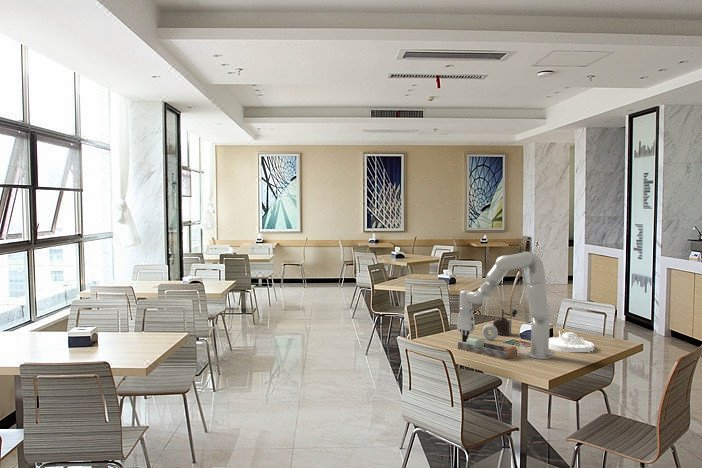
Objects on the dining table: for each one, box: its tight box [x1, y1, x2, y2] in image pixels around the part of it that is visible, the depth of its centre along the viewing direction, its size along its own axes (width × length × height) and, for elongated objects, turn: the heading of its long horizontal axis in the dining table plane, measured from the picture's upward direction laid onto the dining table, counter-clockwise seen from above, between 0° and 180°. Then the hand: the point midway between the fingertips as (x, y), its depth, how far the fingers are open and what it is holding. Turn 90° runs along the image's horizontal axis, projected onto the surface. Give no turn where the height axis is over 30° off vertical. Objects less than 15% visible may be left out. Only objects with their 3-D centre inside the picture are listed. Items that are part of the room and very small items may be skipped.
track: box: [457, 341, 518, 361], centre depth 320 cm, size 32×12×6 cm, turn 42°
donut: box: [481, 323, 499, 341], centre depth 353 cm, size 10×4×10 cm, turn 62°
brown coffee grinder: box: [492, 309, 518, 337], centre depth 369 cm, size 16×11×18 cm
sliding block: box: [466, 336, 485, 347], centre depth 326 cm, size 6×9×5 cm
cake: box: [549, 330, 595, 353], centre depth 336 cm, size 28×28×10 cm
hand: (465, 341), depth 331 cm, fingers closed
